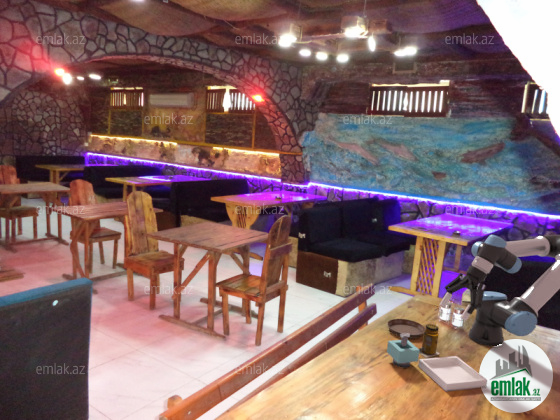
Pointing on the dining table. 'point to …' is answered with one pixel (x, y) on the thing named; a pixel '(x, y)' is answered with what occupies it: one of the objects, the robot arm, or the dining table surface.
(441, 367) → the tray
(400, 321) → the plant saucer
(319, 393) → the dining table surface
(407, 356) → the collar
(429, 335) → the condiment
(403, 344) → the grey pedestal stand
